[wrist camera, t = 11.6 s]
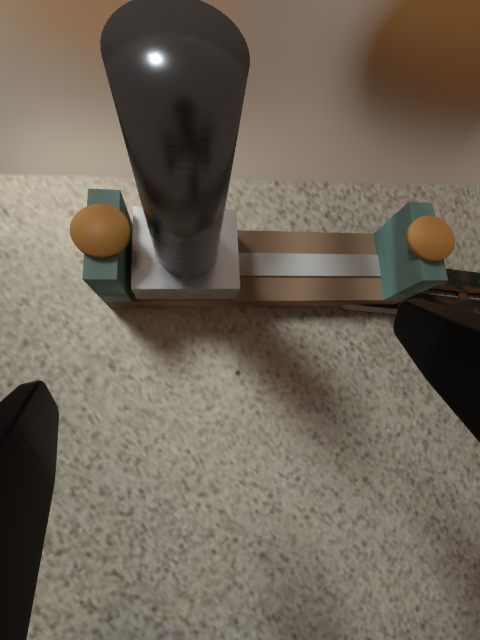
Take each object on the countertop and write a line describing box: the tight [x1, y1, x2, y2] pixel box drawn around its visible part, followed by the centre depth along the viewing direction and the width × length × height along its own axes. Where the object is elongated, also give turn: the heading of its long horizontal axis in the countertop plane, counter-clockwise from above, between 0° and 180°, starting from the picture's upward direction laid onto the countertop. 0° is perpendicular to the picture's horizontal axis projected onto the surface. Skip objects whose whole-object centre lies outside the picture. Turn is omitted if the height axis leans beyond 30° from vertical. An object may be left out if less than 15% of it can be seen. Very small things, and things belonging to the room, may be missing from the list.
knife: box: [340, 269, 480, 315], centre depth 25 cm, size 25×6×1 cm, turn 81°
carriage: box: [100, 0, 250, 299], centre depth 14 cm, size 6×5×13 cm
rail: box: [70, 189, 455, 308], centre depth 20 cm, size 21×5×6 cm, turn 93°
